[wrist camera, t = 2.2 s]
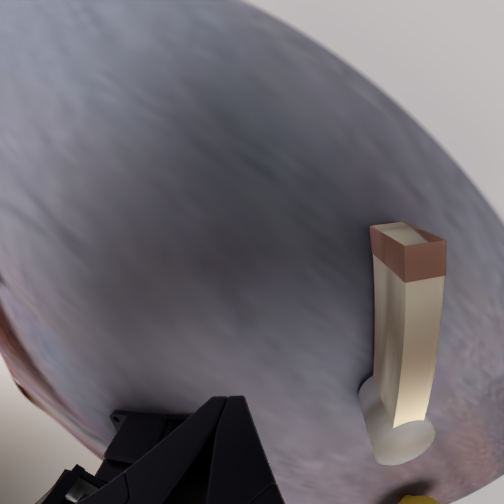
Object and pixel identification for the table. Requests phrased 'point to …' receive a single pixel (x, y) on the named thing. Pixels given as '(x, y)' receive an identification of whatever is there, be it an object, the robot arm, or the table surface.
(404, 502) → the lemon
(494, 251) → the table surface
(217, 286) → the table surface
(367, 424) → the cream brown-tipped bar
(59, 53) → the table surface
